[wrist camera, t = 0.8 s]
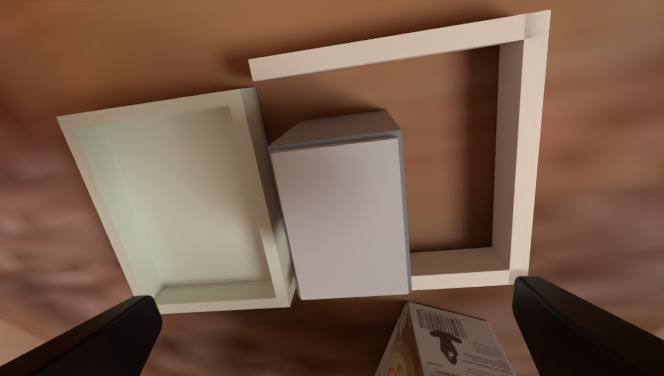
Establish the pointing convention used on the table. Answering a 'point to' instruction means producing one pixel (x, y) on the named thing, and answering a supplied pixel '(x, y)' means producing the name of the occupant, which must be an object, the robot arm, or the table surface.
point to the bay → (511, 133)
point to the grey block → (344, 205)
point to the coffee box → (442, 346)
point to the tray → (188, 200)
